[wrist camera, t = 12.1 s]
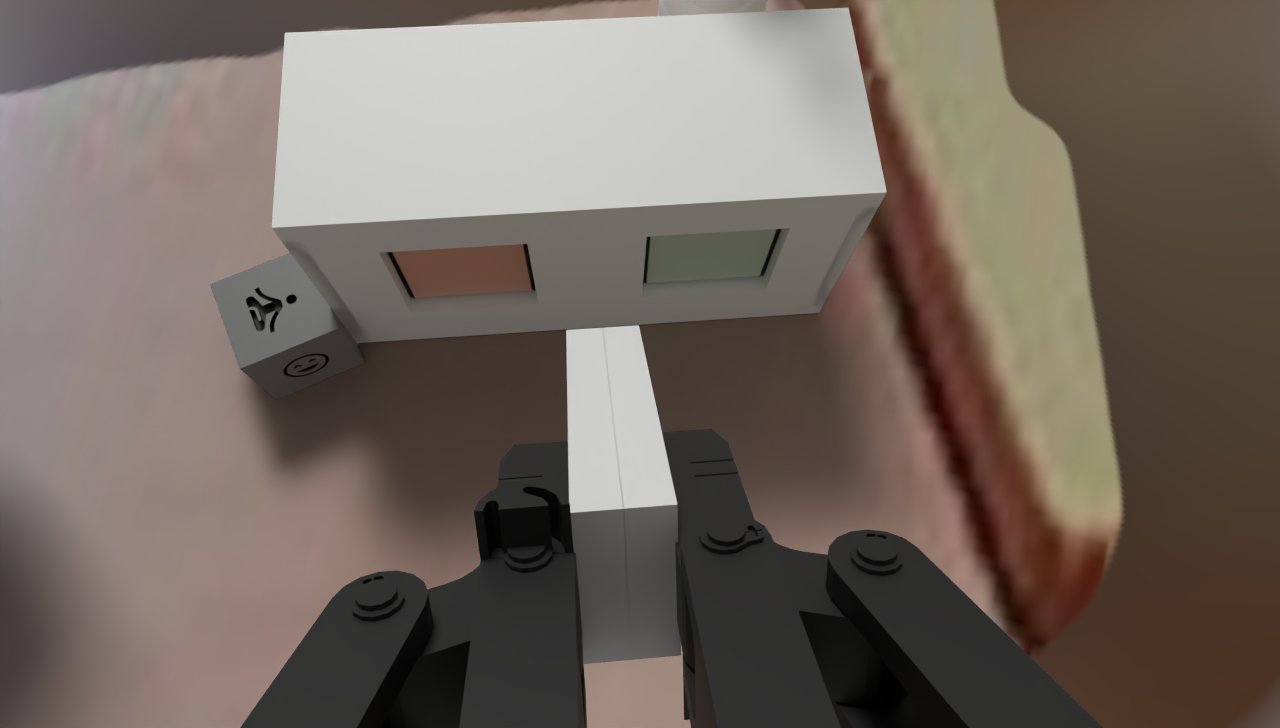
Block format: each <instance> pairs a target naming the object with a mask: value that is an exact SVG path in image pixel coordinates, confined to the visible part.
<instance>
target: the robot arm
mask: <svg viewBox="0 0 1280 728" xmlns="http://www.w3.org/2000/svg"><path fill="white" fill-rule="evenodd" d="M566 345H567V407H568V441H567V442H554V443H540V444H526V445H514V446H513V448H512V449H511V450H510V451H509V452H508V453H507V455H506V456H505V457H504V458H503V459H502V461H501V464H500V472H499V482H498V489H496V490H493V491H491V492H489V493H488V494H487V495H486V496H485V497H483V498H482V499H481V500H480V501H479V502H478V504H477V506H476V508H475V510H474V515H475V522H476V529H477V537H478V544H479V551H480V558H481V562H480V566H478V567H477V568H476V569H475V570H474V571H473V572H471V573H469V574H467V575H466V576H464V577H462V578H461V579H458V580H455V581H453V582H450V583H448V584H444V585H441V586H438V587H435V588H431V589H428V590H427V588H426V586H425V583H424V582H423V581H422V580H421V579H419V578H418V577H416V576H415V575H414V574H410V573H405V572H401V571H386V572H377V573H374V574H370V575H367V576H363V577H360V578H358V579H357V580H355V581H353V582H351V583H349V584H348V585H346V586H344V587H343V588H342V589H341V590H340V591H339V592H338V593H337V594H336V595H335V596H334V597H333V598H332V599H331V600H330V602H329V603H328V605H327V606H326V608H325V609H324V610H323V612H322V613H321V615H320V616H319V617H318V619H317V620H316V622H315V623H314V624H313V626H312V627H311V629H310V630H309V632H308V633H307V634H306V636H305V637H304V639H303V640H302V641H301V643H300V644H299V646H298V647H297V648H296V650H295V651H294V653H293V654H292V656H291V657H290V658H289V660H288V661H287V663H286V664H285V665H284V667H283V668H282V670H281V671H280V672H279V674H278V675H277V677H276V678H275V680H274V681H273V682H272V684H271V685H270V687H269V688H268V689H267V691H266V692H265V694H264V695H263V696H262V698H261V699H260V701H259V702H258V704H257V705H256V706H255V708H254V709H253V711H252V712H251V713H250V715H249V716H248V718H247V719H246V720H245V722H244V723H243V725H242V726H241V728H587V717H586V691H585V679H584V667H583V664H587V663H599V662H610V661H621V660H633V659H644V658H655V657H666V656H678V655H681V645H682V651H683V682H684V720H688V719H690V723H691V728H1103V727H1102V726H1100V725H1099V724H1098V723H1097V722H1096V721H1095V720H1094V719H1093V718H1092V717H1091V716H1090V715H1089V714H1088V713H1087V712H1086V711H1085V710H1084V709H1083V708H1082V707H1081V706H1080V705H1079V704H1078V703H1077V702H1076V701H1075V700H1074V699H1073V698H1072V697H1071V696H1070V695H1069V694H1068V693H1067V692H1066V691H1064V690H1063V689H1062V688H1061V687H1060V686H1059V685H1058V684H1057V683H1056V682H1055V681H1054V680H1053V679H1052V678H1051V677H1050V676H1049V675H1048V674H1047V673H1046V672H1045V671H1044V670H1043V669H1042V668H1041V667H1040V666H1039V665H1038V664H1037V663H1036V662H1035V661H1034V660H1033V659H1032V658H1031V657H1029V656H1028V655H1027V654H1026V653H1025V652H1024V651H1023V650H1022V649H1021V648H1020V647H1019V646H1018V645H1017V644H1016V643H1015V642H1014V641H1013V640H1012V639H1011V638H1010V637H1009V636H1008V635H1007V634H1006V633H1005V632H1004V631H1003V630H1002V629H1001V628H1000V627H999V626H998V625H997V624H996V623H994V622H993V621H992V620H991V619H990V618H989V617H988V616H987V615H986V614H985V613H984V612H983V611H982V610H981V609H980V608H979V607H978V606H977V605H976V604H975V603H974V602H973V601H972V600H971V599H970V598H969V597H968V596H967V595H966V594H965V593H964V592H963V591H962V590H961V589H959V588H958V587H957V586H956V585H955V584H954V583H953V582H952V581H951V580H950V579H949V578H948V577H947V576H946V575H945V574H944V573H943V572H942V571H941V570H940V569H939V568H938V567H937V566H936V565H935V564H934V563H933V562H932V561H931V560H930V559H929V558H928V557H927V556H926V555H924V554H923V553H922V552H921V551H920V550H919V549H918V548H917V547H916V546H914V545H913V544H911V543H910V542H909V541H907V540H906V539H904V538H902V537H899V536H896V535H894V534H891V533H888V532H882V531H874V530H861V531H852V532H849V533H847V534H844V535H842V536H839V537H837V538H836V539H835V540H834V542H833V543H832V544H831V545H830V546H829V551H828V555H824V554H816V553H809V552H802V551H798V550H793V549H789V548H786V547H784V546H781V545H779V544H777V543H775V542H773V539H772V537H771V535H770V533H769V532H768V531H767V529H766V528H765V526H764V525H762V524H760V523H759V522H757V521H755V520H754V517H753V514H752V512H751V509H750V506H749V503H748V500H747V497H746V494H745V491H744V489H743V486H742V483H741V480H740V477H739V476H738V471H737V468H736V465H735V463H734V462H733V457H732V454H731V451H730V448H729V445H728V442H726V441H725V440H724V439H723V438H721V437H720V436H719V435H718V434H717V433H715V432H714V431H713V430H712V429H704V430H690V431H676V432H663V433H662V431H661V426H660V421H659V417H658V412H657V407H656V403H655V398H654V393H653V389H652V384H651V379H650V375H649V370H648V365H647V361H646V356H645V352H644V347H643V342H642V338H641V333H640V328H639V325H636V326H621V327H605V328H590V329H575V330H566ZM680 640H681V643H680Z"/></svg>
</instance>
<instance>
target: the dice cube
mask: <svg viewBox="0 0 1280 728" xmlns="http://www.w3.org/2000/svg"><path fill="white" fill-rule="evenodd" d="M210 286H211V289H212V292H213V294H214V297H215V300H216V303H217V306H218V308H219V311H220V314H221V317H222V320H223V322H224V325H225V328H226V331H227V334H228V336H229V339H230V342H231V345H232V348H233V350H234V353H235V356H236V359H237V362H238V364H239V367H240V369H241V370H242V371H243V372H244V373H246V374H247V375H248V376H249V377H250V378H251V379H253V380H254V381H255V382H256V383H257V384H258V385H260V386H261V387H262V388H263V389H264V390H265V391H267V392H268V393H269V394H270V395H271V396H272V397H274V398H275V399H276V400H278V399H280V398H283V397H285V396H287V395H290V394H292V393H294V392H297V391H299V390H302V389H304V388H306V387H309V386H311V385H313V384H316V383H318V382H320V381H323V380H325V379H328V378H330V377H332V376H335V375H337V374H339V373H342V372H344V371H347V370H349V369H351V368H354V367H356V366H358V365H361V364H363V363H365V362H364V359H363V357H362V354H361V352H360V349H359V347H358V344H357V342H356V341H355V340H354V338H353V337H352V336H351V334H350V333H349V331H348V330H347V329H346V327H345V326H344V325H343V323H342V322H341V321H340V319H339V318H338V317H337V315H336V314H335V313H334V311H333V310H332V308H331V307H330V306H329V304H328V303H327V302H326V300H325V299H324V298H323V296H322V295H321V294H320V292H319V291H318V290H317V288H316V287H315V285H314V284H313V283H312V281H311V280H310V279H309V277H308V276H307V275H306V273H305V272H304V271H303V269H302V268H301V267H300V265H299V264H298V262H297V261H296V260H295V258H294V257H293V256H292V254H291V253H289V254H286V255H284V256H281V257H279V258H276V259H274V260H271V261H269V262H266V263H263V264H261V265H258V266H256V267H253V268H251V269H248V270H246V271H243V272H241V273H238V274H235V275H233V276H230V277H228V278H225V279H223V280H220V281H218V282H215V283H212V284H210Z"/></svg>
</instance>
